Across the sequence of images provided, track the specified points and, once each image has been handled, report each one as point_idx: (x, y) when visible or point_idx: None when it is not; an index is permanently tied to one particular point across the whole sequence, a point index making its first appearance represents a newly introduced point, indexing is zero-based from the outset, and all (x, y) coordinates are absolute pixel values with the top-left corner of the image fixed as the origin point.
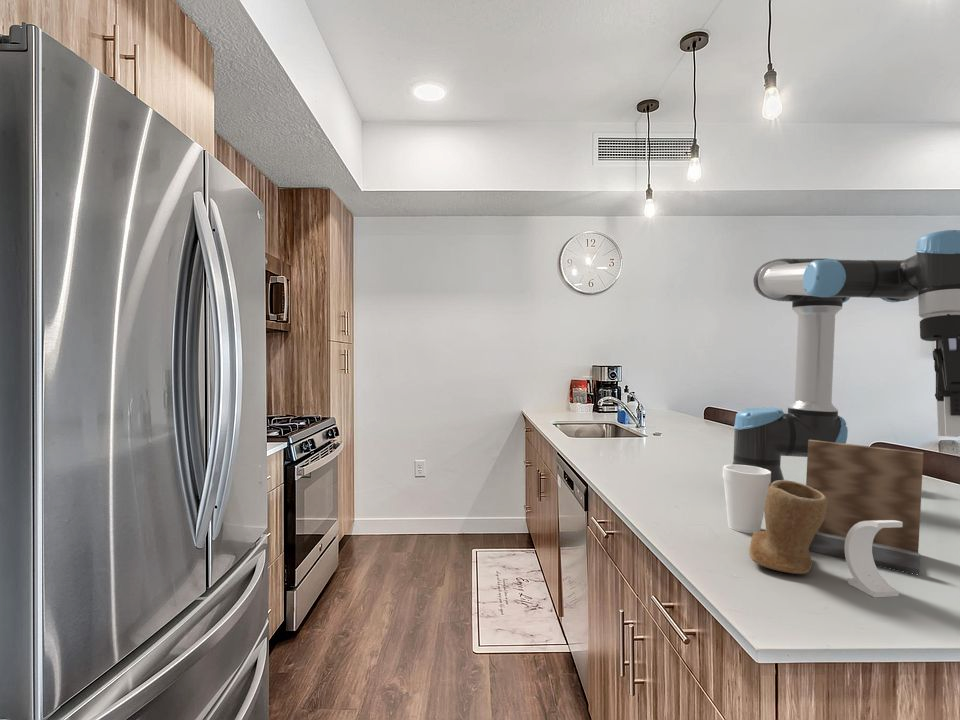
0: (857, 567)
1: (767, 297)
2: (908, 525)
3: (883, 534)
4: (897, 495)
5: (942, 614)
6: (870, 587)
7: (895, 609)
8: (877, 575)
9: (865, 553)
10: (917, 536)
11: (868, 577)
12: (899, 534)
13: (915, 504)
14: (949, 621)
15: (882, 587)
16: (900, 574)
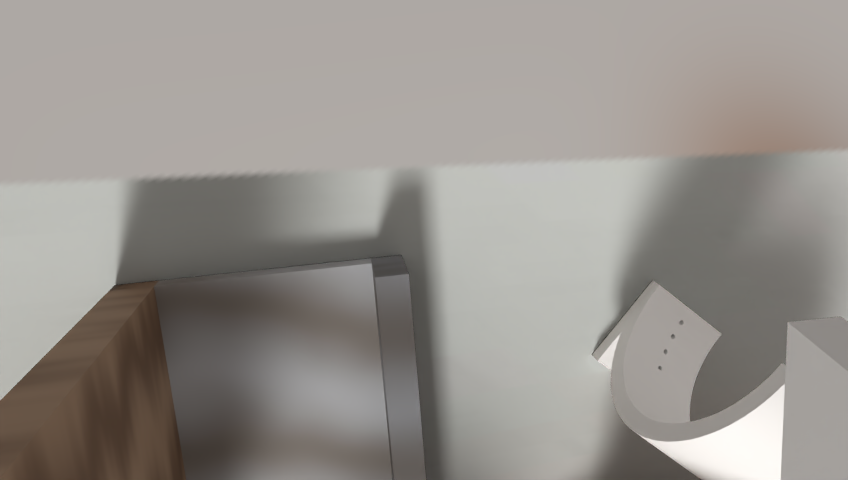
0: (677, 405)
1: None
2: (133, 359)
3: (163, 415)
4: (103, 473)
5: (710, 175)
6: (701, 348)
7: (763, 274)
8: (637, 350)
9: (649, 412)
10: (140, 311)
11: (668, 366)
12: (152, 368)
13: (99, 382)
14: (750, 158)
15: (673, 323)
16: (435, 301)
